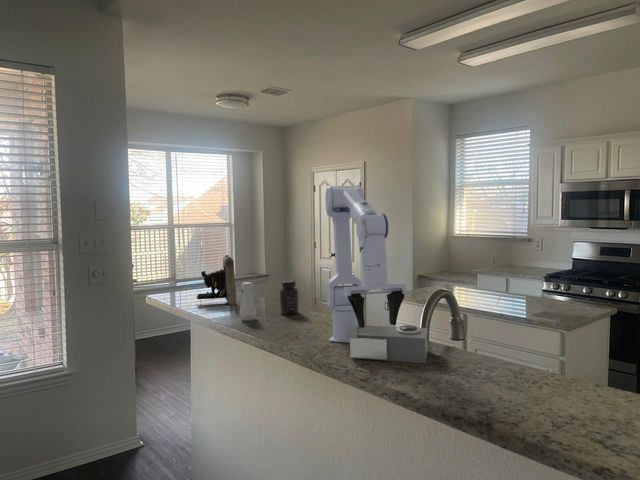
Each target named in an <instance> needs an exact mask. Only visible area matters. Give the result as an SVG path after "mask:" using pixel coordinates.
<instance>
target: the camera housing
mask: <svg viewBox="0 0 640 480" xmlns="http://www.w3.org/2000/svg"><path fill="white" fill-rule="evenodd" d="M358 338H376V339H387V360H386V359H371V358H356V357H351V359H358V360H372V361H373V360H374V361H386V362H403V363H416V364H426V362H427V355H428V350H429V349H428V328H427V327H418V326H417V325H410V324H409V325H408V324H407V325H400V326H386V325H385V326H384V325H365V324H364V328H361V327H359V326H358Z"/></svg>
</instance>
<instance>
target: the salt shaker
mask: <svg viewBox="0 0 640 480" xmlns="http://www.w3.org/2000/svg"><path fill="white" fill-rule="evenodd" d="M254 287H255V286H254V283H253V282H251V281H246V282H242V283H241V285H240V289H241V290H242V295H241V300H240V301H241V303H240V307H239V308H240V309H239V316H240V317H241V319H242V321H247V322H248V321H250V322H251V321H254V320H255V318H256V316H257V307H256V302H255V297H254V294H253V289H254Z"/></svg>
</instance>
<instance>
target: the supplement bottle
mask: <svg viewBox="0 0 640 480" xmlns="http://www.w3.org/2000/svg"><path fill="white" fill-rule="evenodd" d="M281 283H282V284H281V287H282V288H281V289H280V290H279V307H280V314H281V315H283V316H295V315H297V314H299V312H300V308H299V307H300V305H299V302H300V300H299V290H298V288H297V287H296V286H297V285H296V280H290V279H288V280H283V281H281Z"/></svg>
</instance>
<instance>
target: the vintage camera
mask: <svg viewBox="0 0 640 480" xmlns="http://www.w3.org/2000/svg"><path fill="white" fill-rule="evenodd" d="M222 266H223V267H222V268H223V269H219V270H216V271H213V272H210V273H208V274H207V273H206V270H203V271H200V274H201V277H203V282H204V285H205V287H206V288H207V289H209V288H210V289H211V291H210V292H209V291H206V293H198V294H197V295H196V299H197V300H200V301H199V302H200V305H199V306H201V301H202V300H209V299H210V300H213V299H216V300H217V299H225V300H226V302H227V303H228V305H230V306H234V305H236V303H237V292H236V291H237V289H236V276H235V264H234V260H233V258H232V257H231V256H229V254H226V255H225V256H224V257H223V258H222ZM216 290H217V292H215V291H216Z"/></svg>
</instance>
